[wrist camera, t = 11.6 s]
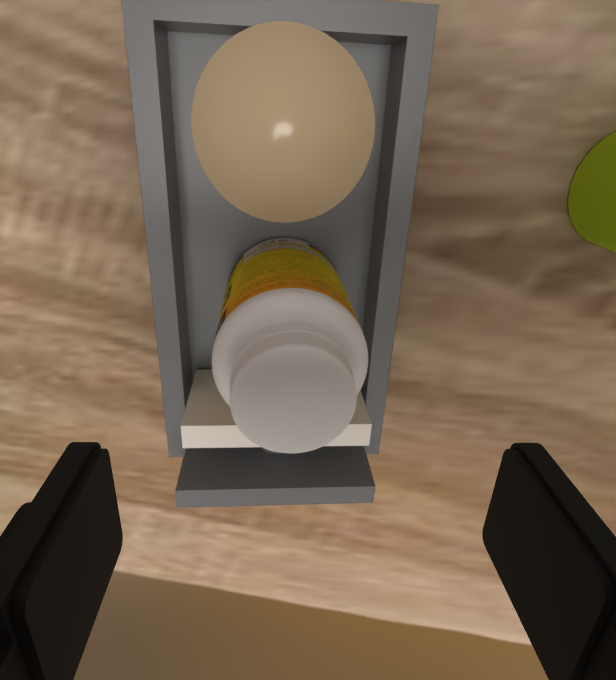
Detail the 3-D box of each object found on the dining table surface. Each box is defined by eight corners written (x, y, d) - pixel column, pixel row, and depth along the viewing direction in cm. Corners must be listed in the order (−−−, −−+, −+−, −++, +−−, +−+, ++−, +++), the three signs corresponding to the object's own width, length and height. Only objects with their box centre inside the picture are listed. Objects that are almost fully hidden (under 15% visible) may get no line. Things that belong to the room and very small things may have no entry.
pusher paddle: (353, 369, 26) (371, 424, 21) (351, 388, 26) (369, 445, 22) (196, 369, 25) (180, 425, 20) (197, 389, 25) (182, 448, 21)
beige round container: (352, 51, 19) (384, 27, 14) (341, 197, 22) (365, 224, 16) (208, 42, 19) (184, 14, 13) (214, 193, 21) (196, 220, 16)
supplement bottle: (217, 243, 22) (181, 334, 13) (333, 226, 22) (379, 306, 13) (238, 347, 25) (222, 486, 16) (343, 332, 25) (388, 461, 16)
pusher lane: (411, 21, 20) (478, -21, 14) (366, 416, 29) (394, 502, 22) (144, 3, 19) (82, -50, 13) (180, 417, 28) (154, 508, 21)
